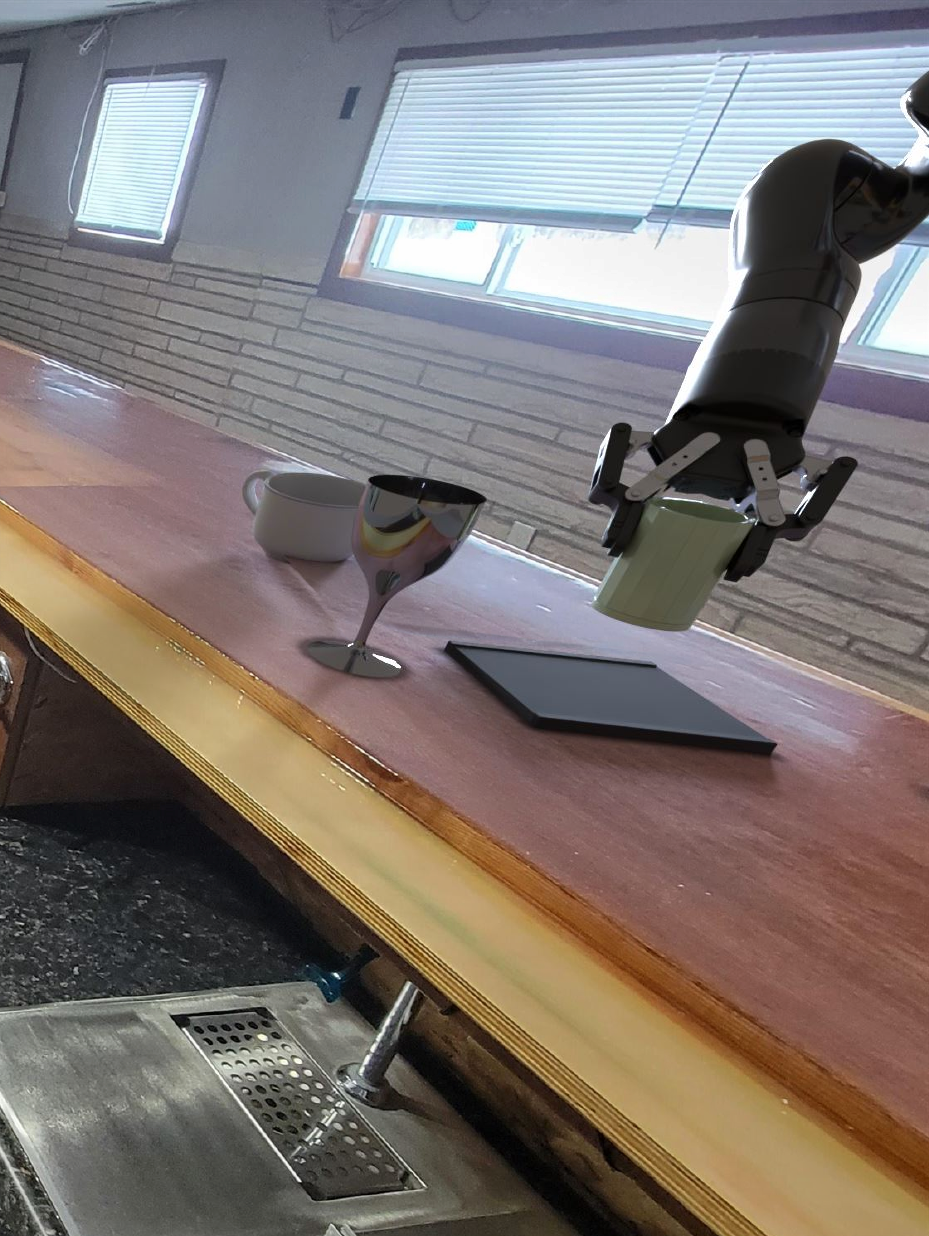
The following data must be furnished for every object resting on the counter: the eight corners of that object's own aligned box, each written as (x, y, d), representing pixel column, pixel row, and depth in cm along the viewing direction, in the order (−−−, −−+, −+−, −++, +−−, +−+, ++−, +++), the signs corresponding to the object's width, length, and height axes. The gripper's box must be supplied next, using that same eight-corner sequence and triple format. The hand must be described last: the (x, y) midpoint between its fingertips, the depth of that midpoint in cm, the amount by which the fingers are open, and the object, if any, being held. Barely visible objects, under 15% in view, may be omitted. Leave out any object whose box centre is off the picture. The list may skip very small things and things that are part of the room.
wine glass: (392, 648, 89) (467, 482, 81) (419, 687, 82) (503, 510, 75) (292, 633, 91) (356, 469, 84) (311, 669, 84) (382, 495, 77)
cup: (656, 604, 80) (716, 501, 76) (710, 635, 75) (778, 527, 71) (573, 596, 81) (629, 494, 77) (621, 626, 76) (684, 519, 72)
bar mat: (644, 672, 87) (651, 661, 86) (769, 756, 75) (778, 743, 74) (443, 651, 89) (448, 640, 88) (533, 729, 77) (540, 716, 76)
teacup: (378, 574, 105) (410, 500, 101) (291, 578, 103) (319, 503, 99) (280, 529, 117) (305, 461, 113) (200, 533, 115) (222, 463, 111)
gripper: (650, 331, 77) (569, 514, 75) (920, 361, 70) (838, 565, 68) (615, 392, 84) (538, 562, 82) (858, 426, 76) (781, 615, 74)
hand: (674, 563), depth 75 cm, fingers closed on cup, 6 cm apart
